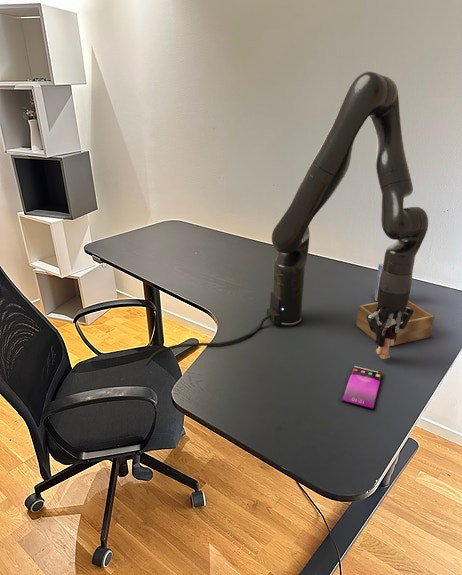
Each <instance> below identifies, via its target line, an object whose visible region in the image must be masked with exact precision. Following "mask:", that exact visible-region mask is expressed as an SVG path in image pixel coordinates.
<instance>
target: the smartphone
mask: <svg viewBox="0 0 462 575" xmlns="http://www.w3.org/2000/svg"><path fill="white" fill-rule="evenodd" d="M382 376H383V372H382V371H380V370H376V369H371V368H368V367H364V366H359V365H353V367H352V370H351V373H350V376H349V379H348V382H347V384H346V388H345V390H344V392H343V396H342V398H341V400H342V402H344V403H347V404H351V405H354V406H358V407H361V408H366V409H369V410H373V409H374V407H375V402H376V399H377V395H378V391H379V387H380V383H381V379H382Z"/></svg>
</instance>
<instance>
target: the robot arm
mask: <svg viewBox="0 0 462 575" xmlns="http://www.w3.org/2000/svg"><path fill="white" fill-rule="evenodd" d="M348 87H349V88H348V89H347V92H346V94H345V95H344V98H343V100H342V102H341V105H340V107H339V110H338V112H337V114H336V117H335V119H334V121H333V123H332V125H331V127H330V128H329V131H328V133H327V134H326V136H325V138H324V140H323V142H322V144H321V146H320V148H319V149H318V151H317V153H316V155H315V156H314V158H313V160H312V162H311V163H310V165H309V167H308V169H307V170H306V173H305V174H304V177H303V179H302V181H301V182H300V184H299V186H298V188H297V190H296V193H295V195H294V196H293V199H292V201H291V203H290V205H289V206H288V208H287V210H285V212H284V214H283V215H282V217H281V218H280V220H279V221H278V222H277V223H276V225H275V226H274V227H273V230H272V233H271V242H272V243H271V244H272V246H273V248H274V249H275V250H276V251H277V252H278V253H277V256H276V258H275V260H274V264H273V286H272V287H273V289H272V290H271V291H270V297H269V298H270V301H269V307H267V308H266V316H265V317H264V318H262V319H261V321H260V323H259V325H258V326H257V328H256V329H254V330H253V331H251V332H249V333H247V334H244V335H243V336H240V337H237V338H235V339H231V340H226V341H220V342H194V343H181V344H180V343H179V344H174V345H170V346H167V347H164V348H161V349H158V350H157V351H155V352H154V353H152V354H151V355H150V356H149V358H148V359H147V360H146V362H145V363H144V367H148V366H149V365H150V363H151V362H152V360H153V359H154V358H155V357H156V356H158V355H159V354H161V353H164V352H167V351H169V350H172V349H173V350H174V349H177V348H188V347H189V348H190V347H200V346H201V347H203V346H204V347H205V346H206V347H215V346H218V347H219V346H225V345H229V344H234V343H237V342H240V341H242V340H244V339H246V338H249V337H251V336H253V335H255V334H256V333H258V331H260V330H261V328H263V325H264V323H265V322H266V321H267V320H268V319H269V320H270V321H271V322H272V323H273V324H275V325H276V326H277V327H281V326H282V327H294V326H297V325H299V324H300V323H301V322H302V310H303V299H304V298H303V296H304V283H305V271H306V270H305V269H306V268H305V267H306V264H307V261H308V256H309V248H310V234H311V232H310V228H309V227H310V223H311V222H312V220H313V219H314V218H315V216H316V215H317V214H318V213H319V211H320V210H322V208H323V207H324V206H325V204H326V203H327V202H328V201H329V200H330V198H331V197H332V196H333V195H334V193H335V192H336V190H337V189H338V188H339V186H340V184H342V183H341V182H342V181H343V179H344V178H345V176H346V175H347V172H348V170H349V168H350V165H351V161H352V160H351V159H352V155H353V154H352V152H353V148H354V143H355V141H356V138H357V135H358V134H359V132H360V130H361V129H362V127H363V125H364V123H365V122H366V121H367V119H368V118H370V120H371V122H372V125H373V127H374V131H375V136H376V155H375V170H376V174H377V175H376V176H377V180H378V184H379V189H380V193H381V214H380V217H381V218H380V220H381V221H380V222H381V223H380V224H381V227H382V230H383V232H384V234H385V236H386V237H388V238H389V240H390V239H391V240H394V241H395V242H394V243H392V244H391V245H389V246H388V247H386V249H385V252H384V258H383V263H382V264H383V269H382V273H381V276H380V283H379V289H378V296H377V301H376V302H378V307H377V308H376V312H375V313H373V314H372V315H370V314H367V315H366V318H367V321H368V324H369V327H370V329H371V331H372V332H374V333H375V334H376V335H377V336H376V341H375V344H376V345H377V346H378V347H379V346H380V347H384V343H385V337H386V335H385V334H386V330H387V328H389V326H390V322H391V319H395V320H396V324H395V325H394V324H393V325H392V326H391V327H392V331H393V335H394V338H395V339H394V343H395V341H396V337H397V333H398V332H399V330H400V329H404V328H405V326H406V325H407V323H408V321H409V319H410V318H411V316H412V314H413V312H414V310H413V309H411V308H409V307H408V306H407V305H408V300H409V301H410V294H411V290H412V289H411V288H412V284H413V272H414V267H415V266H414V265H415V261H416V256H417V254H418V253H419V250H420V248H421V246H422V244H423V242H424V239H425V237H426V235H427V232H428V228H429V217H428V214H427V211H425V209H423V208H422V207H419V206H409V207H404V199H406V198H407V197H410V196H411V195H412V194H413V191H414V186H413V181H412V177H411V173H410V168H409V166H408V161H407V157H406V152H405V147H404V142H403V141H404V140H403V135H402V134H403V132H402V124H401V123H402V122H401V113H400V112H401V111H400V98H399V90H398V86H397V84H396V83H395V81H394V80H393V79H392V78H390V77H388V76H386V75H383V74H380V73H377V72H374V71H365V72H362V73H361V74H359V75H357V77H355V78H354V79H353V81H352V82H351V84H350V86H348ZM402 319H403V320H402ZM383 322H384V323H383ZM401 322H403V323H402V324H401ZM381 328H382V329H381ZM390 343H391V342H390Z"/></svg>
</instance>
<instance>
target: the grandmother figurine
mask: <svg viewBox="0 0 462 575" xmlns="http://www.w3.org/2000/svg"><path fill="white" fill-rule="evenodd" d="M383 323H384V322H383ZM393 324H394V325H395V324H396V320H395V319H391V322H390V326H389V328H387V330H386V334H385V335H386V337H385V343H384V347H380V346H378V347H377V348H376V349H375V353H376V354H377V355H378V356H379V358H381V359H382V360H387V359H390V358H391V355H390V354H389V353H390V347H394V346H395V345H394V339H395V338H394V335H393V331H392V327H391V326H392V325H393ZM381 329H382V328H381ZM390 342H391V343H390ZM390 345H391V346H390Z"/></svg>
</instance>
